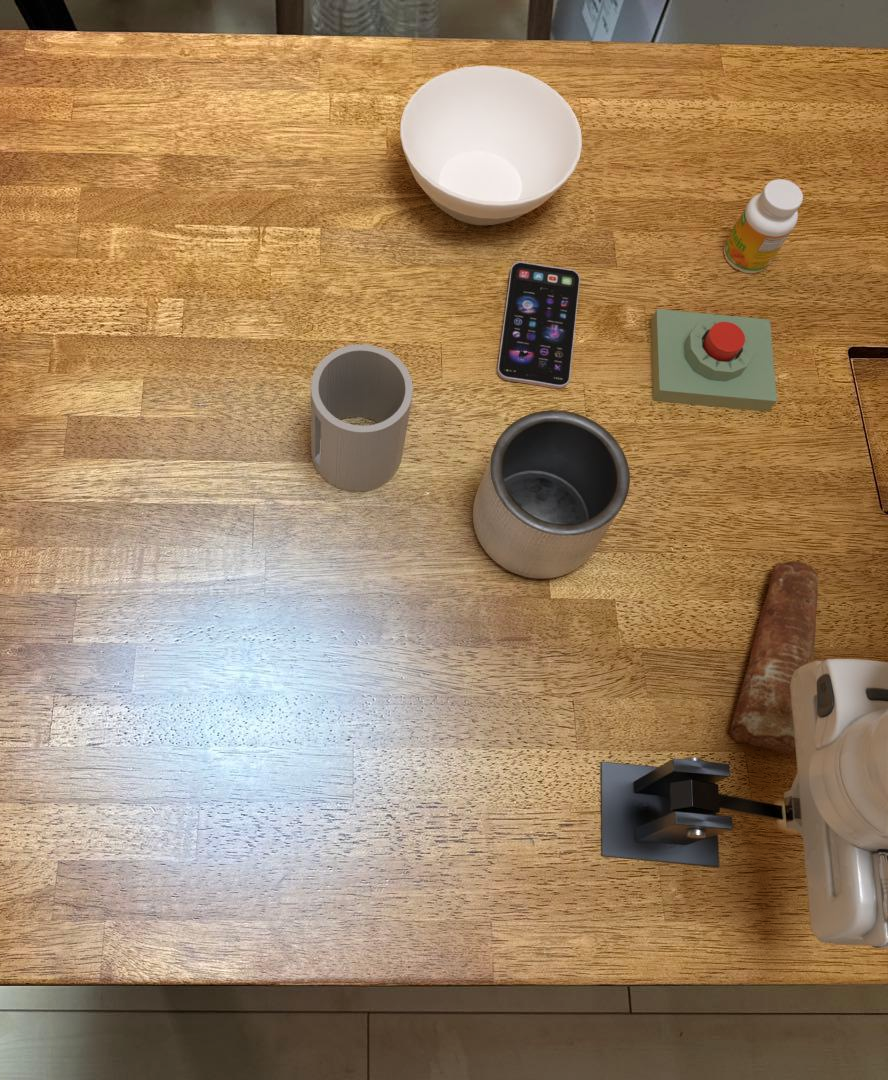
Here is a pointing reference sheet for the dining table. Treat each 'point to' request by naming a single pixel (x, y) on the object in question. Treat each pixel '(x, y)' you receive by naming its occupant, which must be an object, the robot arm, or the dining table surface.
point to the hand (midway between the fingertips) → (793, 812)
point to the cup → (359, 391)
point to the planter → (549, 493)
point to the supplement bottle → (763, 227)
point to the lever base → (658, 813)
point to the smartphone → (539, 325)
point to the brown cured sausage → (778, 659)
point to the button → (724, 341)
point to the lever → (723, 803)
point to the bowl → (489, 142)
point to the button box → (711, 362)
